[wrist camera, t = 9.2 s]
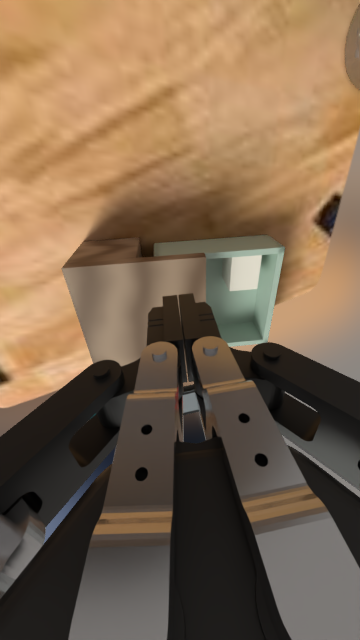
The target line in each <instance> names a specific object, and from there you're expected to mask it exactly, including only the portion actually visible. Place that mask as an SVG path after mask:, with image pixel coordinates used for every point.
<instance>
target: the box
mask: <svg viewBox="0 0 360 640" xmlns="http://www.w3.org/2000/svg"><path fill="white" fill-rule="evenodd" d="M284 250H285V247H284V246H283V245H281V244H280V243H279V242H277V241H276V240H274V239H273V238H272V237H270V236H269V235H256V236H243V237H230V238H217V239H204V240H190V241H177V242H164V243H154V256H167V255H180V254H193V253H204V254H205V256H206V303H207V304H208V305H209V306H210V307H211V309H212V312H213V315H214V318H215V321H216V323H217V326H218V329H219V332H220V335H221V338H222V339H223V340H224V341H225V342H226V343H227V344H228V346H229V347H231V346H240V345H251V344H261V343H267V342H268V336H269V331H270V326H271V320H272V315H273V309H274V304H275V299H276V293H277V288H278V283H279V277H280V272H281V267H282V261H283V256H284ZM256 255H262V259H261V266H260V273H259V280H258V287H257V289H251V290H239V291H229V289H228V287H227V286H226V284H225V282H224V280H223V278H222V263H223V258H230V257H243V256H256Z"/></svg>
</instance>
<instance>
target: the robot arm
mask: <svg viewBox="0 0 360 640" xmlns="http://www.w3.org/2000/svg"><path fill="white" fill-rule="evenodd" d="M345 65H346V70H347V74H348V76H349V79H350V81H351V82H352V83H353V85H354V86H355V87H356V88H358V89H359V90H360V5H359V6H358V8H357V10H356V12H355V15H354V17H353V19H352V22H351V25H350V28H349V31H348V35H347V40H346V47H345ZM178 297H179V305H178V298H177V295H171V296H163V306H162V307H153V308H152V309H151V311H150V312H149V313H148V327H147V344H146V347H145V348H144V350H143V351H142V353H141V357H140V358H139V359H138V360H136V361H134V362H132V363H129V364H127V365H124V366H120V364H119V363H118V362H116V361H114V360H102V361H98V362H96V363H94V364H92V365H90V366H89V367H88V368H87V369H85V370H84V371H83V372H82V373H80V374H79V375H78V376H76V377H75V378H74V379H73V380H71V381H70V382H69V383H68V384H66V385H65V386H64V387H63V388H61V389H60V390H59V391H58V392H56V393H55V394H54V395H53V396H51V397H50V398H49V399H48V400H46V401H45V402H44V403H42V404H41V405H40V406H39V407H37V408H36V409H35V410H34V411H32V412H31V413H30V414H29V415H28V416H26V417H25V418H24V419H22V420H21V421H20V422H18V423H17V424H16V425H15V426H13V427H12V428H11V429H10V430H8V431H7V432H6V433H5V434H3V435H2V436H1V437H0V640H360V498H359V497H358V496H357V495H356V494H354V493H353V492H351V491H350V490H349V489H348V488H346V487H345V486H344V485H342V484H341V483H340V482H339V481H337V480H336V479H335V478H333V477H332V476H331V475H329V474H328V473H327V472H326V471H324V470H323V469H322V468H320V467H319V466H318V465H317V464H315V463H314V462H313V461H311V460H310V459H309V458H307V457H306V456H305V455H303V454H302V453H300V452H299V451H297V450H296V449H294V448H292V447H290V446H288V445H287V444H286V443H285V441H284V438H283V437H282V435H283V436H285V437H286V438H287V439H288V440H290V441H291V442H293V443H294V444H295V445H297V446H298V447H299V448H301V449H302V450H304V451H305V452H306V453H308V454H309V455H311V456H312V457H313V458H315V459H316V460H318V461H319V462H320V463H322V464H323V465H325V466H326V467H327V468H329V469H331V470H332V471H333V472H334V473H336V474H337V475H339V476H340V477H342V478H343V479H344V480H346V481H347V482H348V483H350V484H351V485H353V486H354V487H356V488H357V489H358V490H360V382H358V381H356V380H354V379H351V378H349V377H347V376H345V375H343V374H341V373H339V372H337V371H335V370H333V369H330V368H328V367H326V366H324V365H322V364H320V363H317V362H316V361H313V360H311V359H309V358H307V357H305V356H303V355H301V354H298V353H296V352H294V351H292V350H290V349H288V348H286V347H284V346H282V345H279V344H276V343H269V342H268V343H261V344H258V345H256V346H255V347H254V348H253V349H252V352H248V351H240V350H236V349H233V348H230V347H229V346H228V344H227V343H226V342H225V341H224V340H223V339H222V338H221V335H220V332H219V329H218V326H217V323H216V321H215V318H214V315H213V312H212V309H211V307H210V306H209V305H208V304H207V303H206V302H198V303H195V299H194V295H193V293H189V294H180V295H178ZM179 308H180V313H179ZM180 318H181V320H180ZM184 351H185V354H184ZM185 358H186V364H185ZM186 365H187V373H188V380H189V382H191V381H194V386H195V397H196V401H197V405H198V409H199V413H200V418H201V421H202V426H203V429H204V434H205V438H206V441H204V442H201V443H197V444H195V443H186V442H184V441H183V392H184V390H183V382H187V375H186ZM285 391H286V392H287V393H289V394H291V395H293V396H294V397H296V398H297V399H299V400H301V401H302V402H304V403H306V404H308V405H309V406H311V407H312V408H314V409H315V410H316V411H317V412H316V411H314V410H312V409H311V408H309V407H307V406H306V405H304V404H302V403H301V402H299V401H297V400H296V399H294V398H292V397H291V396H289V395H287V394H286V393H285ZM88 420H89V421H88ZM87 421H88V422H87ZM86 422H87V423H86ZM85 423H86V424H85ZM84 424H85V425H84ZM83 425H84V426H83ZM82 426H83V427H82ZM115 446H116V450H115V454H114V459H113V463H112V464H111V465H110V466H109V467H108V468H106V469H105V470H104V471H103V472H102V473H101V474H100V475H99V476H98V477H97V478H96V479H95V481H94V482H93V483H92V484H91V485H90V487H89V488H88V489H87V490H86V492H85V493H84V494H83V496H82V497H81V498H80V499H79V501H78V502H77V503H76V504H75V506H74V507H73V508H72V509H71V511H70V512H69V513H68V515H67V516H66V517H65V518H64V519H63V521H62V522H61V523H60V524H59V526H58V527H57V528H56V530H55V531H54V532H53V533H52V535H51V536H50V537H49V538H48V540H47V541H46V542H45V543H44V539H45V530H46V529H45V527H46V526H47V525H48V524H49V523H50V521H51V520H52V519H53V518H54V517H55V516H56V515H57V514H58V512H59V511H60V510H61V509H62V508H63V507H64V505H65V504H66V503H67V502H68V501H69V499H70V498H71V497H72V496H73V495H74V494H75V493H76V491H77V490H78V489H79V488H80V486H82V485H83V483H84V482H85V481H86V480H87V479H88V478H89V476H90V475H91V474H92V473H93V472H94V470H95V469H96V468H97V467H98V466H99V465H100V464H101V462H102V461H103V460H104V459H105V458H106V456H107V455H108V454H109V453H110V452H111V451H112V450H113V449H114V447H115ZM43 543H44V545H43Z"/></svg>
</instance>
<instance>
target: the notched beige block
mask: <svg viewBox="0 0 360 640" xmlns="http://www.w3.org/2000/svg"><path fill="white" fill-rule="evenodd" d="M61 269H62V272H63V275H64V278H65V280H66V283H67V286H68V289H69V292H70V295H71V298H72V301H73V304H74V307H75V310H76V313H77V316H78V319H79V322H80V325H81V328H82V331H83V334H84V337H85V340H86V343H87V346H88V349H89V352H90V355H91V358H92V361H93V364H94V363H96V362H98V361H102V360H114V361H116V362H118V363H119V364H120V366H124V365H127V364H129V363H132V362H134V361H136V360H138V359H139V358H140V357H141V353H142V351H143V350H144V348H145V347H146V344H147V327H148V313H149V312H150V311H151V309H152V308H153V307H162V306H163V296H171V295H177V298H178V305H179V297H178V295H180V294H189V293H193V295H194V299H195V303H198V302H206V256H205V254H204V253H193V254H180V255H167V256H154V257H142V253H141V245H140V238H139V237H138V238H124V239H111V240H98V241H84V242H82V244H81V245H80V246H79V247H78V249H77V250H76V251H75V252H74V254H73V255H72V256H71V257H70V259H69V260H68V261H67V262H66V263H65V265H64V266H63V267H62V268H61ZM179 313H180V308H179ZM180 320H181V318H180ZM184 354H185V351H184ZM185 364H186V358H185ZM186 373H187V365H186Z"/></svg>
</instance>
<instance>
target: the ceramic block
mask: <svg viewBox="0 0 360 640" xmlns="http://www.w3.org/2000/svg"><path fill="white" fill-rule="evenodd" d="M261 259H262V255H256V256H243V257H230V258H223V263H222V278H223V280H224V282H225V284H226V286H227V287H228V289H229V291H239V290H251V289H257V287H258V280H259V273H260V266H261Z"/></svg>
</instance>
